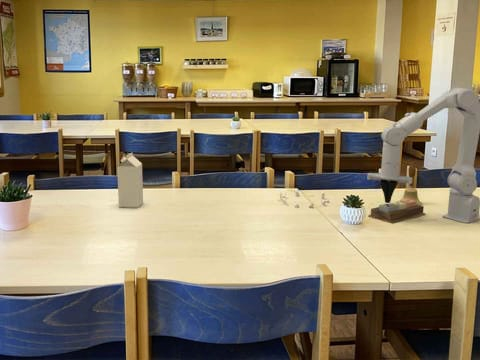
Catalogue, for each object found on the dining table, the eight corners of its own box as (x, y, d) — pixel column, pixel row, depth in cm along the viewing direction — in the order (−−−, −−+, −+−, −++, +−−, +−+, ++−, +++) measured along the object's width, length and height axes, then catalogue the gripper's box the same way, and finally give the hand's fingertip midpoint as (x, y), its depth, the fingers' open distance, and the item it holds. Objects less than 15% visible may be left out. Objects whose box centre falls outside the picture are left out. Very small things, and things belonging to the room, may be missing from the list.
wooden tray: (425, 214, 191) (425, 206, 191) (392, 223, 181) (392, 214, 180) (401, 208, 199) (402, 200, 198) (368, 216, 188) (369, 208, 188)
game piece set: (278, 195, 219) (278, 186, 218) (328, 197, 217) (329, 187, 216) (276, 208, 200) (276, 198, 199) (332, 210, 198) (332, 199, 197)
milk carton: (143, 203, 204) (141, 152, 200) (137, 208, 197) (136, 156, 193) (124, 202, 204) (122, 152, 200) (118, 207, 197) (116, 155, 193)
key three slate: (395, 213, 186) (396, 205, 185) (388, 214, 183) (388, 207, 183) (386, 210, 189) (386, 203, 188) (378, 212, 187) (379, 204, 186)
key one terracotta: (415, 208, 192) (416, 201, 192) (408, 209, 190) (409, 202, 189) (406, 205, 195) (406, 198, 195) (399, 207, 193) (399, 200, 192)
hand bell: (416, 207, 201) (420, 164, 198) (395, 204, 206) (398, 162, 202) (424, 203, 207) (428, 161, 204) (403, 199, 212) (406, 159, 209)
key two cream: (405, 210, 189) (406, 203, 188) (398, 212, 187) (399, 205, 186) (396, 208, 192) (396, 200, 192) (389, 209, 190) (389, 202, 189)
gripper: (415, 162, 183) (412, 202, 186) (372, 158, 189) (369, 197, 192) (411, 166, 177) (407, 207, 179) (366, 162, 183) (364, 201, 186)
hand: (387, 202), depth 185 cm, fingers closed
